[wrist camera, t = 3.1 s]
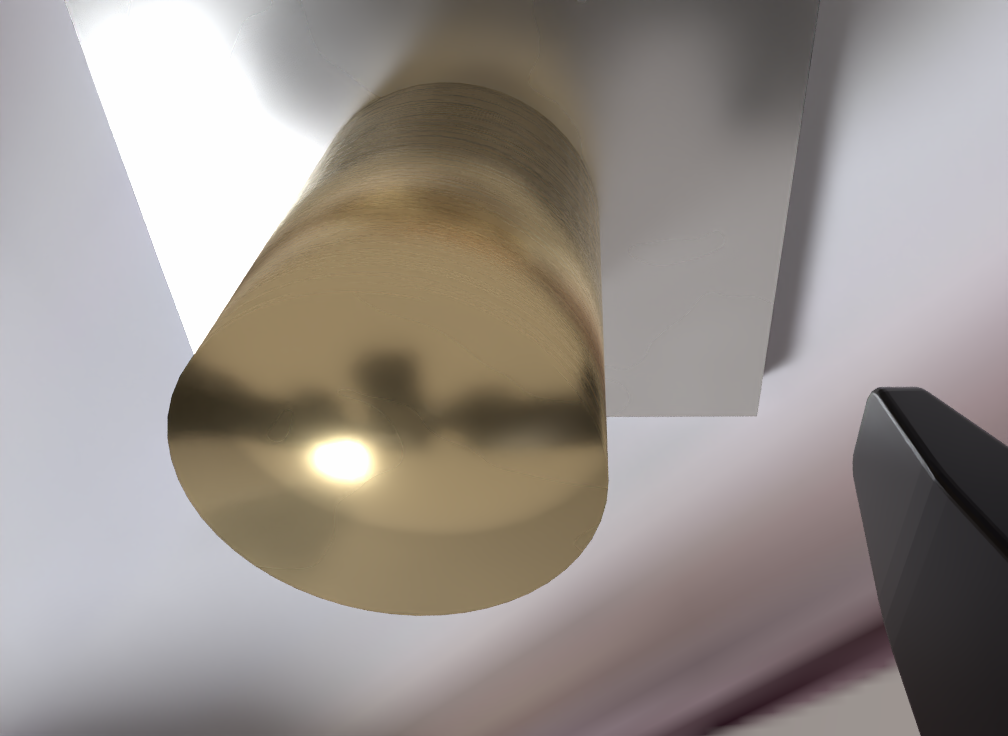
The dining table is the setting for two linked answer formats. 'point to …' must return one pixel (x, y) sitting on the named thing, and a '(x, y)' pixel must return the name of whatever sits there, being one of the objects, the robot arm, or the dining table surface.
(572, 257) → the gold cylinder
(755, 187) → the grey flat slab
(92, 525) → the dining table surface
